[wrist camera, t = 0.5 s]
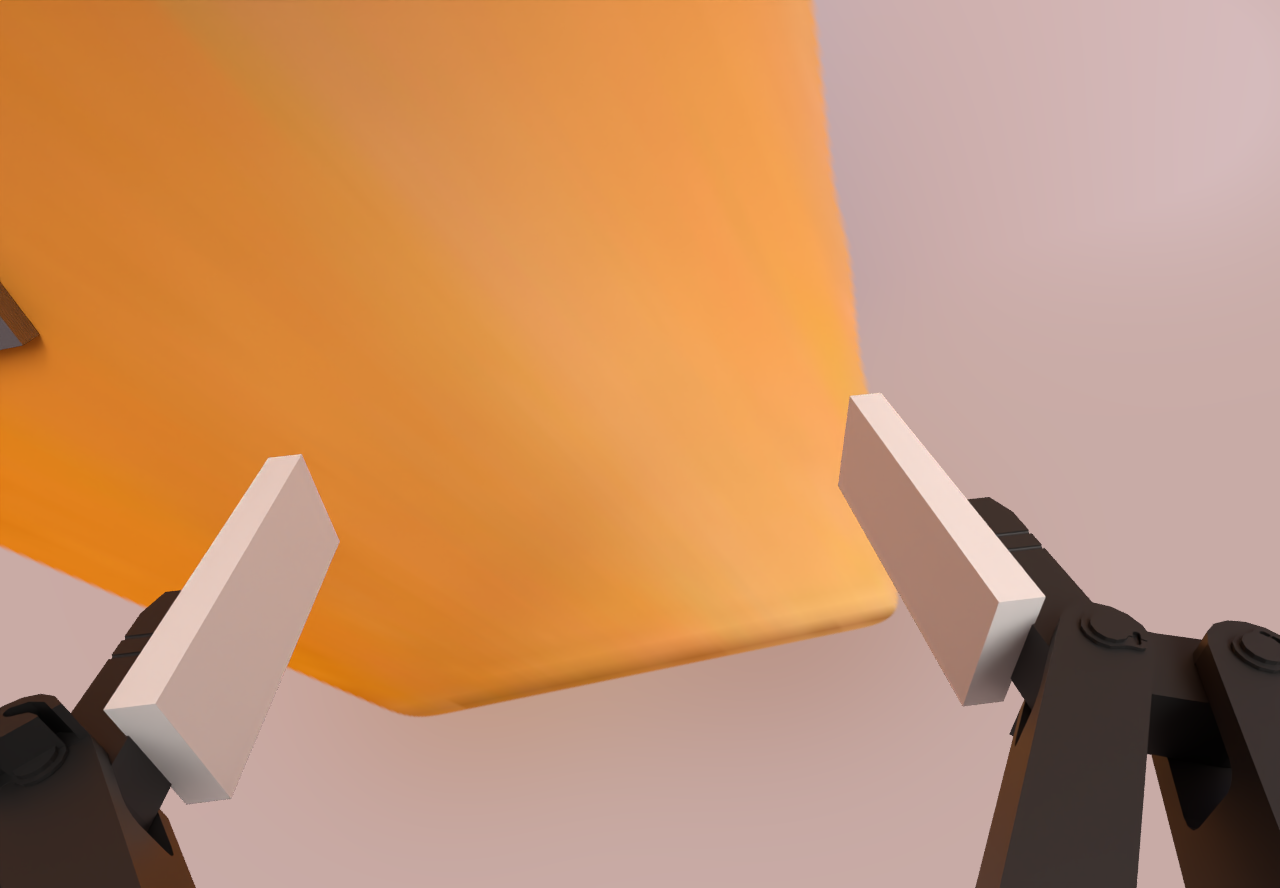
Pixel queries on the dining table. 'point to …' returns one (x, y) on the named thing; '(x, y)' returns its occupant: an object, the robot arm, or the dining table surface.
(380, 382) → the dining table surface
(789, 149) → the dining table surface
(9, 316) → the grey flat frame
